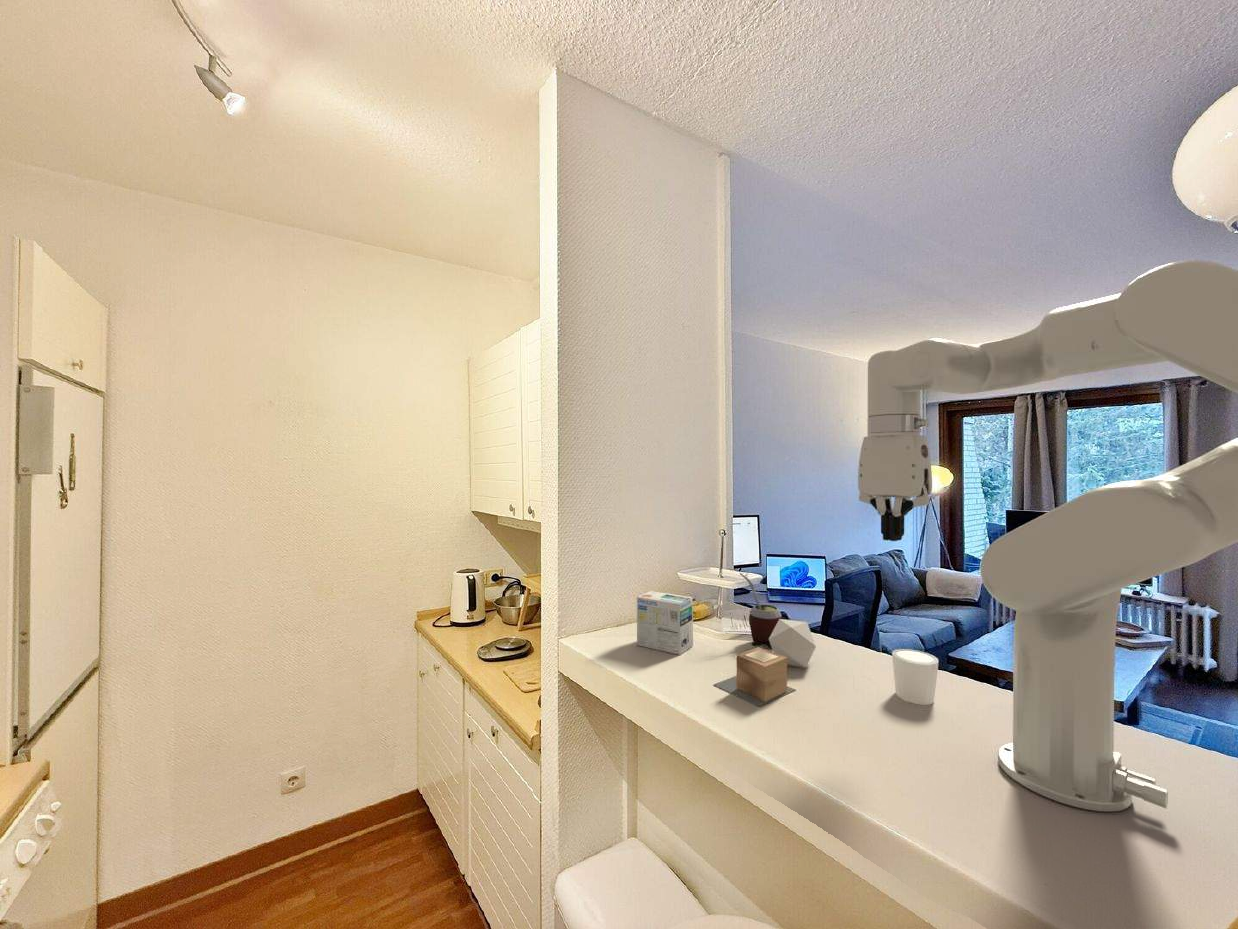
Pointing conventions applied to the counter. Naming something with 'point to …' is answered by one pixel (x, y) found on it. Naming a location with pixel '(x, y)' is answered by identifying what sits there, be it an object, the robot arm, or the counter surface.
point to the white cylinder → (915, 676)
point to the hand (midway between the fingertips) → (892, 539)
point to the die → (793, 642)
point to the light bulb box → (665, 622)
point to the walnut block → (762, 673)
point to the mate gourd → (762, 620)
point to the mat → (731, 687)
